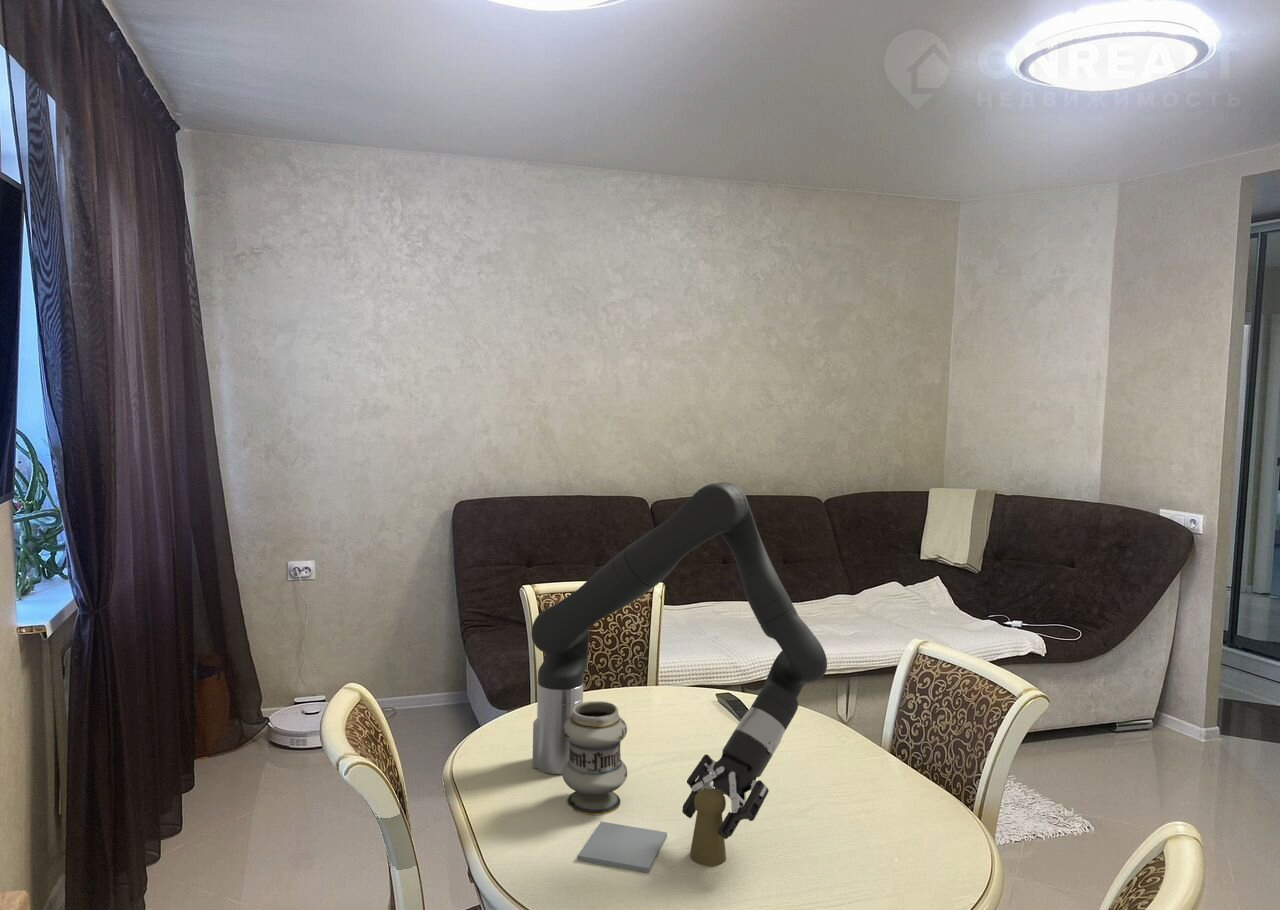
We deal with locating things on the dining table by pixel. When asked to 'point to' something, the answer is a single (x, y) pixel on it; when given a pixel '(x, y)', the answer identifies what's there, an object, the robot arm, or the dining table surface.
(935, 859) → the dining table surface
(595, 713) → the apothecary jar
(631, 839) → the slate tile
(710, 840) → the brown pawn
